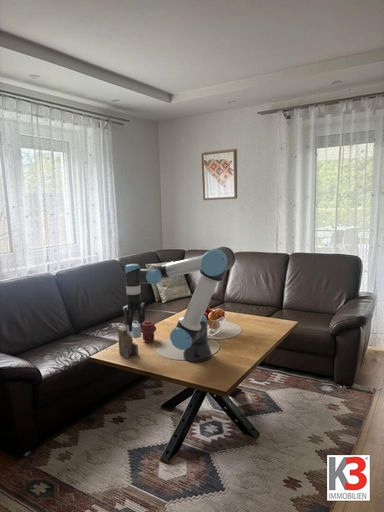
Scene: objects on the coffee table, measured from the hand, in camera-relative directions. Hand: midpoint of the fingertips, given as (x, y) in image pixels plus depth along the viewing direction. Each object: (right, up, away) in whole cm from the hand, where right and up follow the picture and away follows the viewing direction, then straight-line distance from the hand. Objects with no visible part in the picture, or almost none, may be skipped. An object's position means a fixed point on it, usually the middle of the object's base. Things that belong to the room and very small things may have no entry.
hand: (135, 335), depth 198 cm
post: (-5, -12, +7) cm, 15 cm away
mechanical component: (+4, -10, +28) cm, 30 cm away
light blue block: (-1, 0, +2) cm, 2 cm away
